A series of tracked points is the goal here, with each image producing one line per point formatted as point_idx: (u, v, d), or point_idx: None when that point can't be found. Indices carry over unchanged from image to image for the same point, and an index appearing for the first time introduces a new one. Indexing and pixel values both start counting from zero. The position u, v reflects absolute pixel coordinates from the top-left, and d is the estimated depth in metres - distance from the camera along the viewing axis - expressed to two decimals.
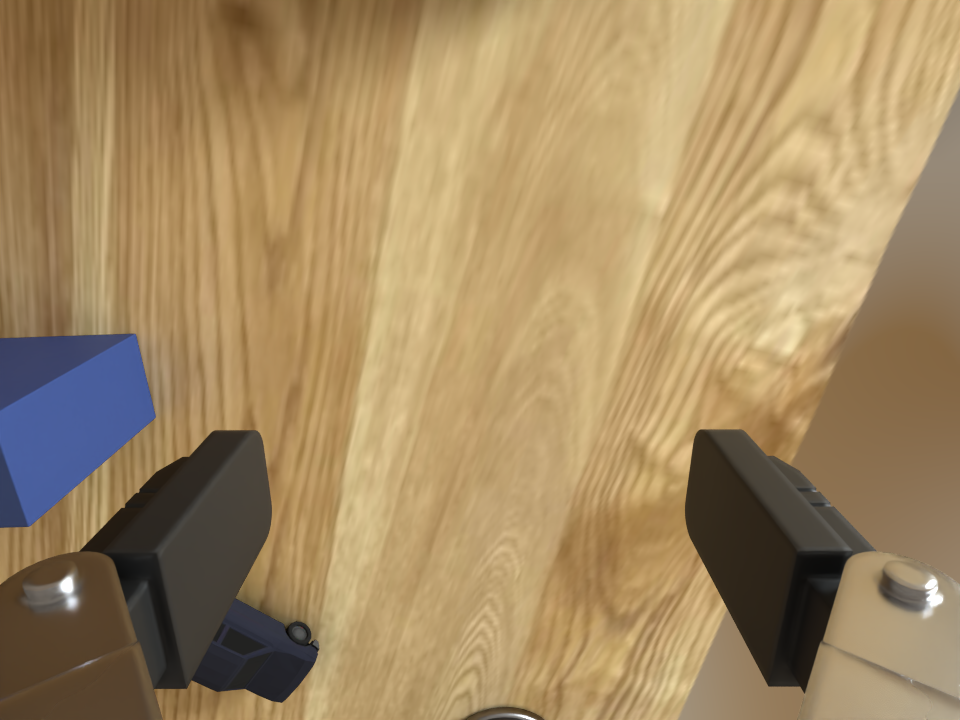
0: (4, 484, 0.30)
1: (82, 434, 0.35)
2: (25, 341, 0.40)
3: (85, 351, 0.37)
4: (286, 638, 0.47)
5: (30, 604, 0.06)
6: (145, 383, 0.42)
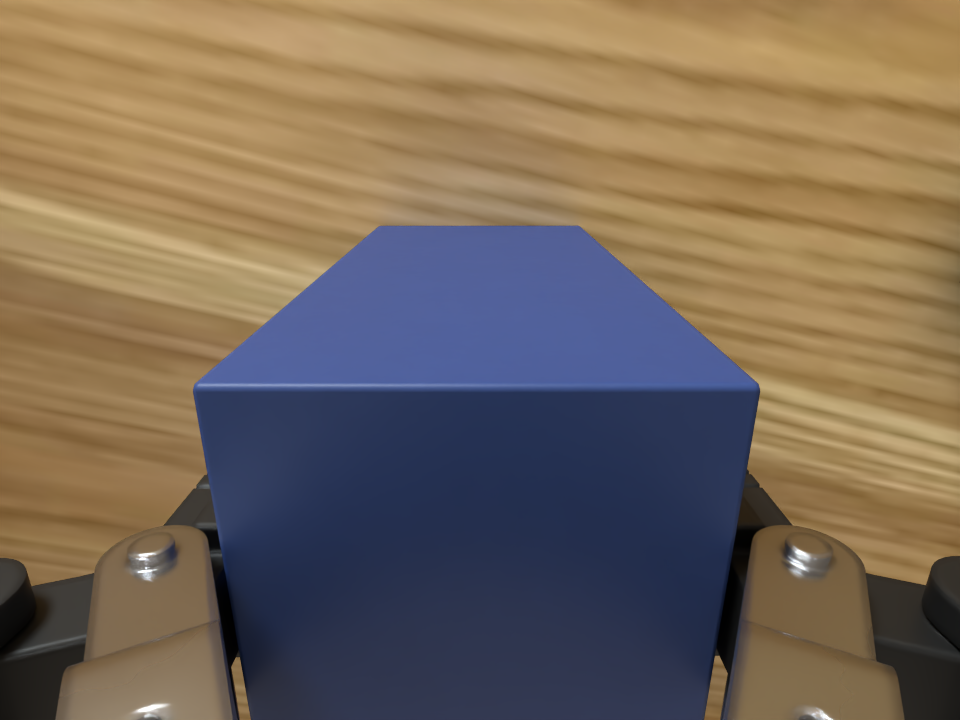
0: (529, 427, 0.07)
1: (511, 276, 0.12)
2: None
3: None
4: None
5: (136, 570, 0.07)
6: (492, 227, 0.18)
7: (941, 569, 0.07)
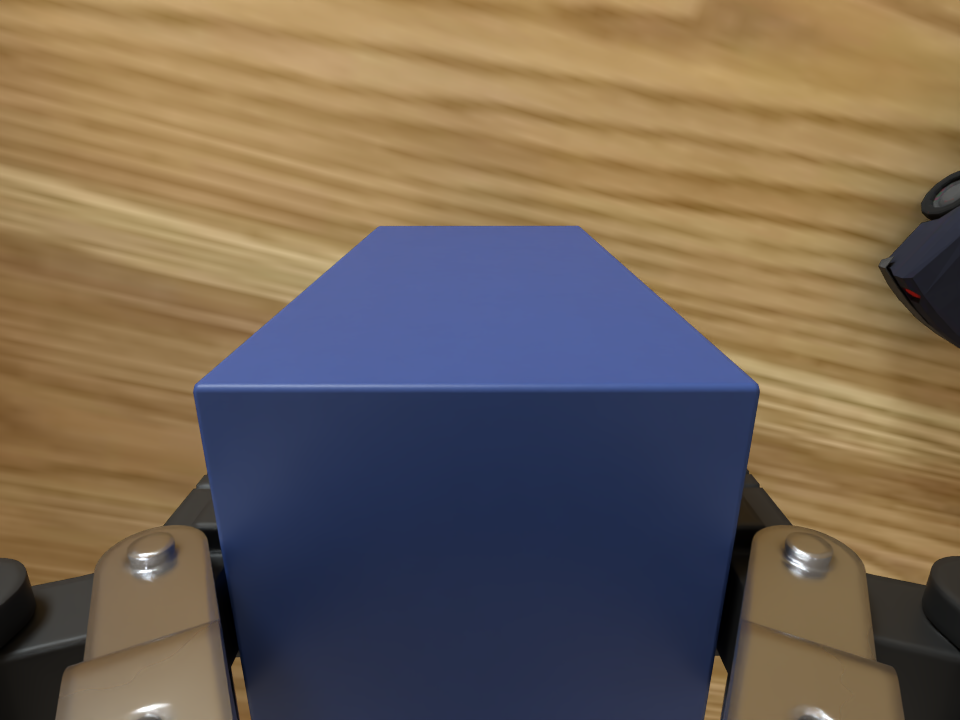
0: (529, 428, 0.07)
1: (511, 276, 0.12)
2: None
3: None
4: None
5: (136, 570, 0.07)
6: (491, 227, 0.18)
7: (941, 569, 0.07)
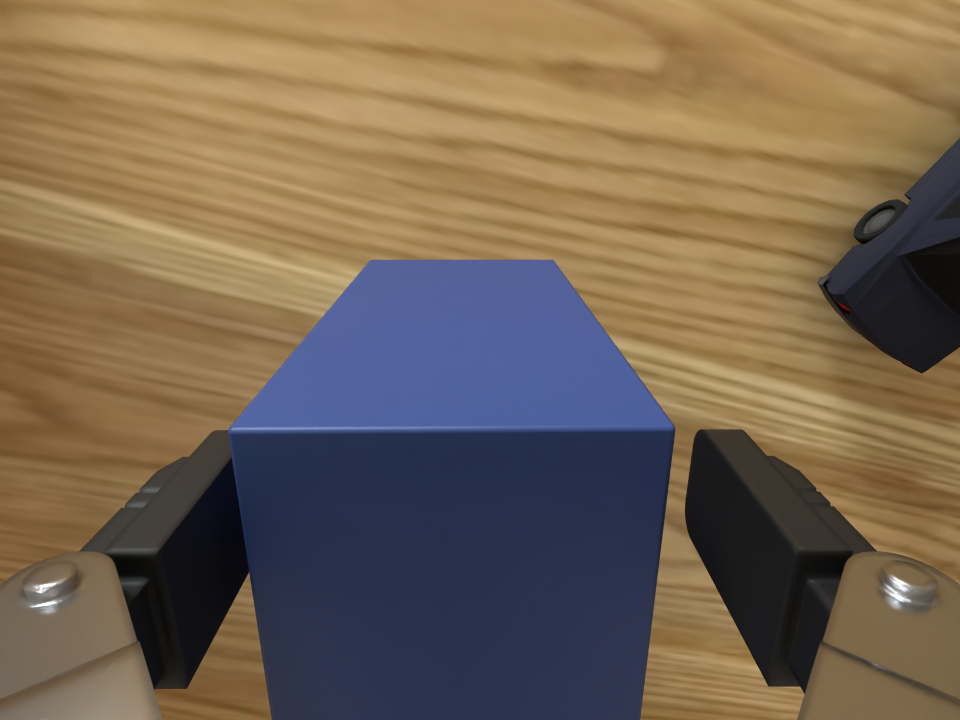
0: (495, 460, 0.09)
1: (487, 319, 0.13)
2: None
3: None
4: None
5: (30, 604, 0.06)
6: (474, 261, 0.20)
7: None
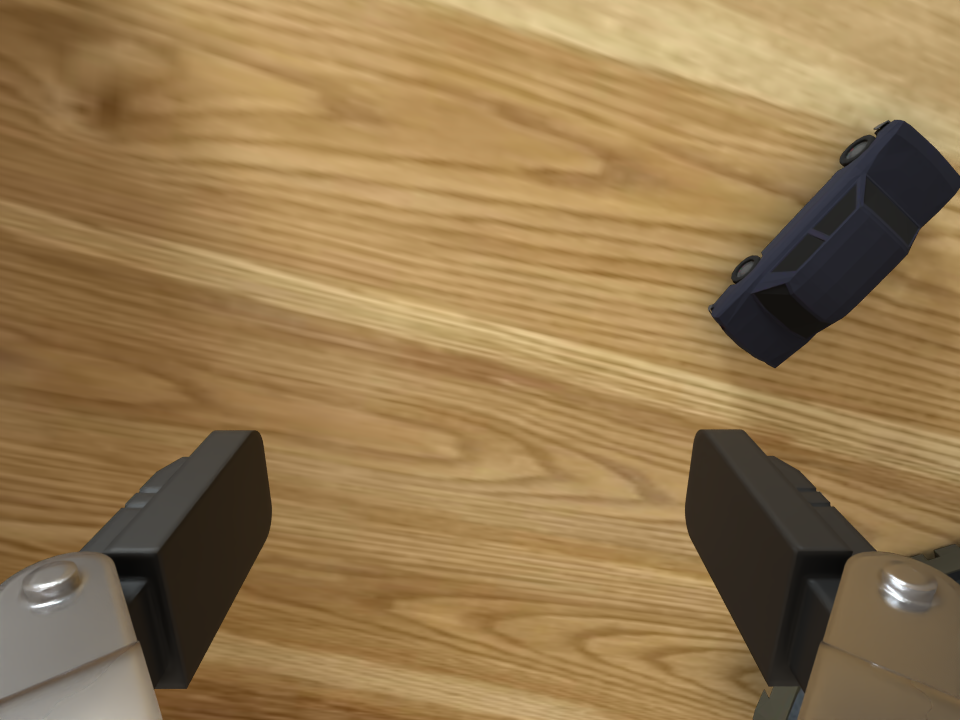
0: None
1: None
2: None
3: None
4: (855, 161, 0.34)
5: (30, 604, 0.06)
6: None
7: None
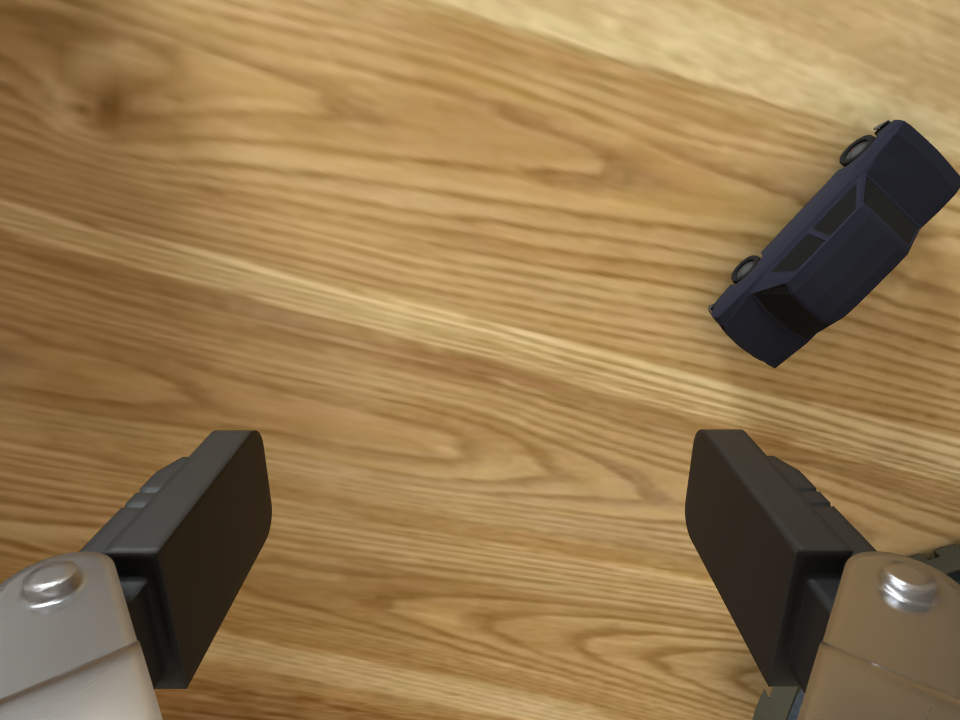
0: None
1: None
2: None
3: None
4: (855, 161, 0.34)
5: (30, 604, 0.06)
6: None
7: None
